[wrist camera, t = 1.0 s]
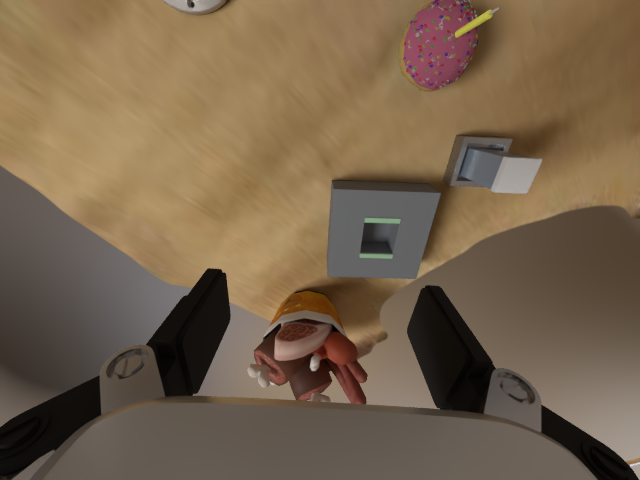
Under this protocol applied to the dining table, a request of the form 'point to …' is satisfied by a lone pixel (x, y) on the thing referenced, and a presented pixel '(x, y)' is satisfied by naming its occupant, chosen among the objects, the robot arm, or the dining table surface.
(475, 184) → the box
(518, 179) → the plug
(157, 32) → the dining table surface
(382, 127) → the dining table surface
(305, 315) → the bucket of meat
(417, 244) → the port block
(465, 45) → the cupcake
